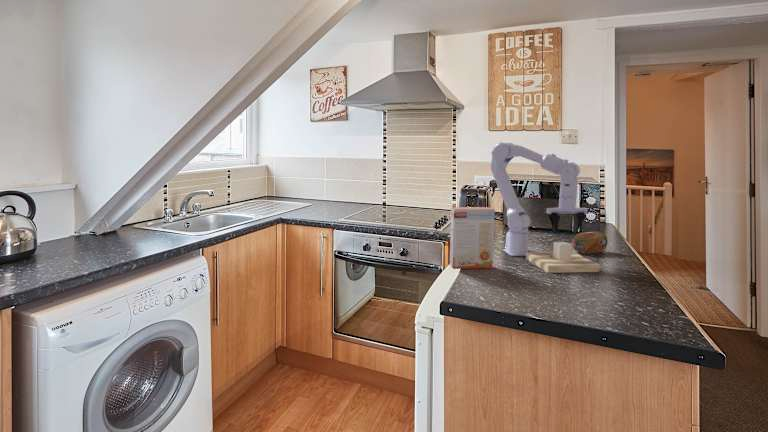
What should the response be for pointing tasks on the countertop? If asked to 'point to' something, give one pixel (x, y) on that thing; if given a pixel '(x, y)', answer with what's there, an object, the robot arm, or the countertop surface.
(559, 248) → the keyed peg
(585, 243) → the tin
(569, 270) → the socket plate
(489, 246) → the cracker box
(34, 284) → the countertop surface
